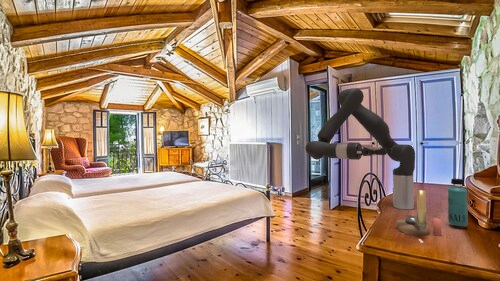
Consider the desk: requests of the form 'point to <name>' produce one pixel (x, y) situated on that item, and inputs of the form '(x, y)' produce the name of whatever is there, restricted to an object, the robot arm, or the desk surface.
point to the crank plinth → (412, 228)
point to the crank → (419, 211)
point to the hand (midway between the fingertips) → (389, 151)
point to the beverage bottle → (457, 204)
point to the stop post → (437, 226)
